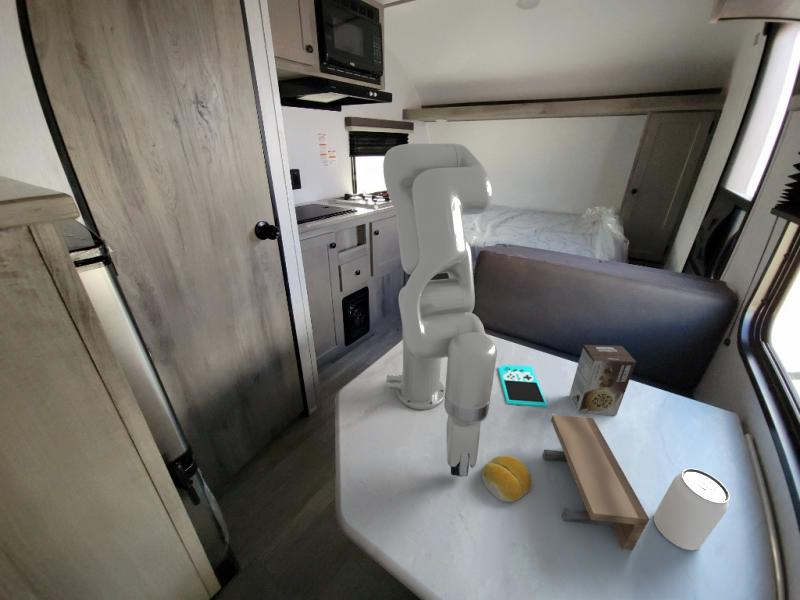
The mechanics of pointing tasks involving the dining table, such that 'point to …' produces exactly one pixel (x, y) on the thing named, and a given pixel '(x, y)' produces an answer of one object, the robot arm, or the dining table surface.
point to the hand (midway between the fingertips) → (458, 471)
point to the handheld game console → (521, 386)
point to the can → (691, 508)
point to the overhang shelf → (597, 480)
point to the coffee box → (601, 379)
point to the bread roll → (506, 478)
